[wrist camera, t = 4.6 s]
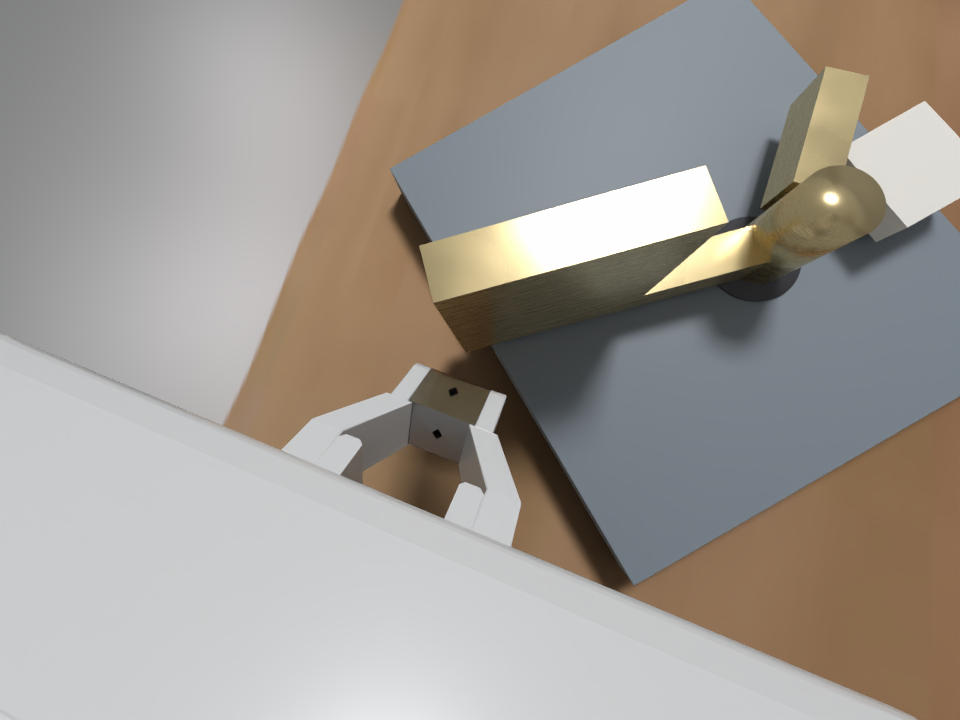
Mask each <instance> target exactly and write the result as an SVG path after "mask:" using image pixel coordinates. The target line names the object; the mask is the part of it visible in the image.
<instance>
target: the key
mask: <svg viewBox="0 0 960 720" xmlns="http://www.w3.org/2000/svg"><path fill="white" fill-rule="evenodd" d="M868 80H869V76H867V75H862V74H858V73H853V72H849V71H844V70H840V69H836V68H831V67H827V66H826V67H825V68H824V69H823V70H822V71H821V73H820V74H819V75H818V76H817V77H816V78H815V79H814V80H813V81H812V82H811V83H810V85H809V86H808V87H807V88H806V89H805V90H804V91H803V92H802V93H801V94H800V95H799V97H798V98H797V99H796V100H795V101H794V102H793V103H792V104H791V105H790V108H789V112H788V115H787V118H786V122H785V125H784V129H783V132H782V135H781V139H780V142H779V146H778V149H777V152H776V156H775V159H774V163H773V166H772V169H771V173H770V176H769V180H768V183H767V187H766V190H765V193H764V197H763V200H762V204H761V207H760V209H763V210H766V211H765V212H764V213H762V214H761V215H760V216H758V217H757V218H756V219H755V220H753V221H752V222H751V223H750V224H748V225H747V226H746V227H744V228H741V229H737V230H733V231H730V232H726V233H722V234H719V235H715V234H716V233H717V232H718V231H719V230H720V229H721V228H723V227H724V226H725V225H726V224H727V223H728V219H727V217H726V214H725V212H724V209H723V207H722V204H721V202H720V200H719V197H718V195H717V192H716V190H715V187H714V185H713V182H712V180H711V178H710V175H709V173H708V170H707V168H706V165H705V166H702V167H698V168H695V169H691V170H688V171H684V172H680V173H677V174H673V175H670V176H666V177H663V178H659V179H655V180H652V181H648V182H645V183H641V184H638V185H634V186H630V187H627V188H623V189H620V190H616V191H613V192H609V193H605V194H602V195H598V196H595V197H591V198H587V199H584V200H580V201H577V202H573V203H570V204H566V205H562V206H559V207H555V208H552V209H548V210H545V211H541V212H537V213H534V214H530V215H527V216H523V217H520V218H516V219H512V220H509V221H505V222H502V223H498V224H495V225H491V226H487V227H484V228H480V229H477V230H473V231H469V232H466V233H462V234H459V235H455V236H452V237H448V238H444V239H441V240H437V241H434V242H430V243H427V244H423V245H419V247H420V251H421V255H422V259H423V263H424V267H425V271H426V275H427V279H428V284H429V288H430V292H431V296H432V300H433V303H434V305H435V306H436V308H437V309H438V311H439V312H440V314H441V315H442V317H443V319H444V320H445V322H446V323H447V325H448V326H449V328H450V329H451V331H452V332H453V334H454V335H455V337H456V338H457V340H458V341H459V343H460V344H461V346H462V347H463V349H464V350H465V352H469V351H473V350H477V349H480V348H484V347H488V346H491V345H495V344H499V343H503V342H506V341H510V340H514V339H518V338H521V337H525V336H529V335H532V334H536V333H540V332H544V331H547V330H551V329H555V328H559V327H562V326H566V325H570V324H574V323H577V322H581V321H585V320H588V319H592V318H596V317H600V316H603V315H607V314H611V313H615V312H618V311H622V310H626V309H630V308H633V307H637V306H641V305H644V304H648V303H652V302H656V301H659V300H663V299H667V298H671V297H674V296H678V295H682V294H686V293H689V292H693V291H697V290H700V289H704V288H708V287H712V286H715V285H719V284H723V283H727V282H730V281H734V280H738V279H742V280H743V281H746V282H748V283H752V284H766V283H770V282H772V281H774V280H776V279H778V278H780V277H782V276H784V275H786V274H788V273H790V272H792V271H794V270H796V269H798V268H800V267H802V266H804V265H806V264H808V263H810V262H812V261H814V260H816V259H818V258H820V257H822V256H824V255H826V254H828V253H830V252H832V251H834V250H836V249H838V248H840V247H842V246H844V245H846V244H848V243H850V242H852V241H854V240H856V239H858V238H860V237H862V236H864V235H866V234H868V233H870V232H871V231H873V230H874V229H875V228H877V227H878V225H879V224H880V223H881V221H882V220H883V218H884V215H885V212H886V198H885V195H884V192H883V190H882V188H881V187H880V185H879V184H878V183H877V181H876V180H875V179H874V178H873V177H871V176H870V175H869V174H867V173H866V172H864V171H862V170H860V169H857V168H854V167H850V166H846V162H847V158H848V155H849V151H850V147H851V143H852V140H853V136H854V132H855V128H856V125H857V121H858V117H859V113H860V110H861V106H862V102H863V98H864V95H865V91H866V87H867V83H868ZM713 235H715V236H713Z"/></svg>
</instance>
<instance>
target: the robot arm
mask: <svg viewBox="0 0 960 720" xmlns="http://www.w3.org/2000/svg"><path fill="white" fill-rule="evenodd" d="M506 397H507V396H506V395H504V394H501V393H498V392H495V391H492V390H489V389H486V388H483V387H480V386H478V385H475V384H472V383H469V382H466V381H464V380H461V379H458V378H456V377H453V376H451V375H448V374H445V373H443V372H440V371H438V370H435V369H433V368H429V367H427V366H424V365H422V364H419V363H417V364H415V365H414V366H413V367H412V368H411V369H410V371H409V372H408V373H407V374H406V376H405V377H404V378H403V379H402V381H401V382H400V383H399V384H398V386H397V387H396V388H395V390H394V391H393V392H392V393H391V394H389V393H384V394H381V395H378V396H375V397H372V398H370V399H367V400H364V401H361V402H358V403H355V404H353V405H350V406H347V407H344V408H341V409H338V410H335V411H333V412H330V413H327V414H324V415H321V416H318V417H316V418H313V419H312V420H311V421H310V422H309V423H308V424H307V425H306V426H305V427H304V428H303V429H302V430H301V431H300V432H299V433H298V434H297V435H296V436H295V437H294V438H293V439H292V440H291V441H290V442H289V443H288V444H287V445H286V446H285V447H284V448H283V449H282V450H279V449H277V448H275V447H272V446H270V445H267V444H265V443H263V442H260V441H258V440H256V439H253V438H251V437H248V436H246V435H244V434H241V433H239V432H237V431H234V430H232V429H229V428H227V427H225V426H222V425H220V424H217V423H215V422H213V421H210V420H208V419H206V418H203V417H201V416H198V415H196V414H194V413H191V412H189V411H187V410H184V409H182V408H179V407H177V406H175V405H172V404H170V403H168V402H165V401H163V400H160V399H158V398H156V397H153V396H151V395H149V394H146V393H144V392H141V391H139V390H136V389H134V388H132V387H129V386H127V385H125V384H122V383H120V382H117V381H115V380H113V379H110V378H108V377H106V376H103V375H101V374H98V373H96V372H94V371H91V370H89V369H86V368H84V367H82V366H79V365H77V364H75V363H72V362H70V361H67V360H65V359H63V358H60V357H58V356H55V355H53V354H51V353H48V352H46V351H44V350H41V349H39V348H37V347H34V346H32V345H30V344H27V343H25V342H23V341H20V340H18V339H16V338H14V337H11V336H8V335H5V334H1V333H0V720H918V719H916V718H915V717H913V716H911V715H909V714H907V713H905V712H903V711H900V710H898V709H896V708H894V707H892V706H889V705H887V704H885V703H882V702H880V701H877V700H875V699H873V698H870V697H868V696H865V695H863V694H861V693H858V692H856V691H853V690H851V689H849V688H846V687H844V686H842V685H839V684H837V683H834V682H832V681H830V680H827V679H825V678H822V677H820V676H818V675H815V674H813V673H810V672H808V671H806V670H803V669H801V668H799V667H796V666H794V665H791V664H789V663H787V662H784V661H782V660H779V659H777V658H775V657H772V656H770V655H768V654H765V653H763V652H760V651H758V650H756V649H753V648H751V647H748V646H746V645H744V644H741V643H739V642H737V641H734V640H732V639H729V638H727V637H725V636H722V635H720V634H717V633H715V632H713V631H710V630H708V629H706V628H703V627H701V626H698V625H696V624H694V623H691V622H689V621H687V620H684V619H682V618H679V617H677V616H675V615H672V614H670V613H668V612H665V611H663V610H660V609H658V608H656V607H653V606H651V605H648V604H646V603H644V602H641V601H639V600H637V599H634V598H632V597H629V596H627V595H625V594H622V593H620V592H618V591H615V590H613V589H610V588H608V587H606V586H603V585H601V584H599V583H596V582H594V581H591V580H589V579H587V578H584V577H582V576H579V575H577V574H575V573H572V572H570V571H568V570H565V569H563V568H560V567H558V566H556V565H553V564H551V563H549V562H546V561H544V560H541V559H539V558H537V557H534V556H532V555H529V554H527V553H525V552H522V551H520V550H518V549H515V548H513V547H511V544H512V540H513V536H514V531H515V527H516V523H517V519H518V515H519V510H520V506H521V501H520V499H519V496H518V493H517V490H516V487H515V484H514V481H513V478H512V475H511V473H510V470H509V467H508V464H507V461H506V458H505V455H504V452H503V449H502V447H501V444H500V441H499V438H498V435H496V434H494V432H495V429H496V426H497V423H498V421H499V418H500V415H501V412H502V409H503V406H504V403H505V400H506ZM407 444H410V445H413V446H415V447H418V448H421V449H423V450H426V451H429V452H432V453H434V454H437V455H439V456H441V457H444V458H446V459H448V460H451V461H453V462H455V463H458V464H459V471H460V478H461V484H459V486H458V488H457V491H456V493H455V495H454V498H453V500H452V502H451V504H450V507H449V509H448V511H447V514H446V516H445V518H441V517H439V516H436V515H434V514H432V513H429V512H427V511H424V510H422V509H420V508H417V507H415V506H413V505H410V504H408V503H405V502H403V501H401V500H398V499H396V498H393V497H391V496H389V495H386V494H384V493H382V492H379V491H377V490H374V489H372V488H370V487H367V486H365V485H363V481H362V472H363V471H364V470H366V469H368V468H370V467H371V466H373V465H375V464H376V463H378V462H380V461H381V460H383V459H385V458H387V457H388V456H390V455H392V454H393V453H395V452H397V451H399V450H400V449H402V448H404V447H405V446H407Z"/></svg>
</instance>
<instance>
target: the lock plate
mask: <svg viewBox="0 0 960 720" xmlns="http://www.w3.org/2000/svg"><path fill="white" fill-rule="evenodd" d="M817 76H818V75H817V74H816V73H815V72H814V71H813V70H812V69H811V67H810V66H809V65H808V64H807V63H806V62H805V61H804V60H803V59H802V57H801V56H800V55H799V54H798V53H797V52H796V51H795V50H794V49H793V47H792V46H791V45H790V44H789V43H788V42H787V41H786V40H785V39H784V38H783V36H782V35H781V34H780V33H779V32H778V31H777V30H776V29H775V28H774V26H773V25H772V24H771V23H770V22H769V21H768V20H767V19H766V18H765V16H764V15H763V14H762V13H761V12H760V11H759V10H758V9H757V8H756V6H755V5H754V4H753V3H752V2H751V1H750V0H688V1H687V2H685V3H683V4H681V5H679V6H678V7H676V8H674V9H672V10H671V11H669V12H667V13H665V14H663V15H662V16H660V17H658V18H656V19H655V20H653V21H651V22H649V23H647V24H646V25H644V26H642V27H640V28H639V29H637V30H635V31H633V32H632V33H630V34H628V35H626V36H624V37H623V38H621V39H619V40H617V41H616V42H614V43H612V44H610V45H608V46H607V47H605V48H603V49H601V50H600V51H598V52H596V53H594V54H592V55H591V56H589V57H587V58H585V59H584V60H582V61H580V62H578V63H576V64H575V65H573V66H571V67H569V68H568V69H566V70H564V71H562V72H560V73H559V74H557V75H555V76H553V77H552V78H550V79H548V80H546V81H544V82H543V83H541V84H539V85H537V86H536V87H534V88H532V89H530V90H528V91H527V92H525V93H523V94H521V95H520V96H518V97H516V98H514V99H513V100H511V101H509V102H507V103H505V104H504V105H502V106H500V107H498V108H497V109H495V110H493V111H491V112H489V113H488V114H486V115H484V116H482V117H481V118H479V119H477V120H475V121H473V122H472V123H470V124H468V125H466V126H465V127H463V128H461V129H459V130H457V131H456V132H454V133H452V134H450V135H449V136H447V137H445V138H443V139H441V140H440V141H438V142H436V143H434V144H433V145H431V146H429V147H427V148H425V149H424V150H422V151H420V152H418V153H417V154H415V155H413V156H411V157H410V158H408V159H406V160H404V161H402V162H401V163H399V164H397V165H395V166H394V167H392V168H390V170H391V172H392V174H393V176H394V178H395V181H396V183H397V185H398V187H399V189H400V191H401V193H402V195H403V197H404V198H405V200H406V202H407V203H408V205H409V207H410V209H411V210H412V212H413V214H414V215H415V217H416V219H417V221H418V222H419V224H420V226H421V227H422V229H423V231H424V232H425V234H426V236H427V238H428V239H429V241H430V242H434V241H437V240H441V239H444V238H448V237H452V236H455V235H459V234H462V233H466V232H469V231H473V230H477V229H480V228H484V227H487V226H491V225H495V224H498V223H502V222H505V221H509V220H512V219H516V218H520V217H523V216H527V215H530V214H534V213H537V212H541V211H545V210H548V209H552V208H555V207H559V206H562V205H566V204H570V203H573V202H577V201H580V200H584V199H587V198H591V197H595V196H598V195H602V194H605V193H609V192H613V191H616V190H620V189H623V188H627V187H630V186H634V185H638V184H641V183H645V182H648V181H652V180H655V179H659V178H663V177H666V176H670V175H673V174H677V173H680V172H684V171H688V170H691V169H695V168H698V167H702V166H705V165H706V168H707V170H708V173H709V175H710V178H711V180H712V182H713V185H714V187H715V190H716V192H717V195H718V197H719V200H720V202H721V204H722V207H723V209H724V212H725V214H726V217H727V219H728V223H727V224H726V225H725V226H724V227H723V228H721V229H720V230H719V231H718V232H717V233H716V234H715V235H719V234H722V233H726V232H730V231H733V230H737V229H741V228H744V227H746V226H747V225H748V224H750V223H751V222H752V221H753V220H755V219H756V218H757V217H758V216H760V215H761V214H762V213H764V212H765V211H766V210H763V209H760V207H761V204H762V200H763V197H764V193H765V190H766V187H767V183H768V180H769V176H770V173H771V169H772V166H773V163H774V159H775V156H776V152H777V149H778V146H779V142H780V139H781V135H782V132H783V129H784V125H785V122H786V118H787V115H788V112H789V108H790V105H791V104H792V103H793V102H794V101H795V100H796V99H797V98H798V97H799V95H800V94H801V93H802V92H803V91H804V90H805V89H806V88H807V87H808V86H809V85H810V83H811V82H812V81H813V80H814V79H815V78H816V77H817ZM867 133H869V132H868V131H867V130H866V129H865V127H864V126H863V125H862V124H861V123H860V122H859V121H857V125H856V128H855V132H854V136H853V140H852V142H853V141H855V140H856V139H858V138H860V137H862V136H864V135H865V134H867ZM715 235H713V236H715ZM491 347H492V349H493V351H494V352H495V354H496V356H497V357H498V359H499V361H500V363H501V364H502V366H503V368H504V369H505V371H506V373H507V375H508V376H509V378H510V380H511V381H512V383H513V385H514V387H515V388H516V390H517V392H518V393H519V395H520V397H521V399H522V400H523V402H524V404H525V405H526V407H527V409H528V411H529V412H530V414H531V416H532V417H533V419H534V421H535V423H536V424H537V426H538V428H539V429H540V431H541V433H542V435H543V436H544V438H545V440H546V441H547V443H548V445H549V446H550V448H551V450H552V452H553V453H554V455H555V457H556V458H557V460H558V462H559V464H560V465H561V467H562V469H563V470H564V472H565V474H566V476H567V477H568V479H569V481H570V482H571V484H572V486H573V488H574V489H575V491H576V493H577V494H578V496H579V498H580V500H581V501H582V503H583V505H584V506H585V508H586V510H587V512H588V513H589V515H590V517H591V518H592V520H593V522H594V524H595V525H596V527H597V529H598V530H599V532H600V534H601V536H602V537H603V539H604V541H605V542H606V544H607V546H608V548H609V549H610V551H611V553H612V554H613V556H614V558H615V559H616V561H617V563H618V565H619V566H620V567H621V569H622V570H623V571H624V573H625V574H626V575H627V577H628V578H629V580H630V581H631V582H632V584H633V585H636V584H638V583H640V582H641V581H643V580H645V579H646V578H648V577H650V576H652V575H653V574H655V573H657V572H658V571H660V570H662V569H664V568H665V567H667V566H669V565H670V564H672V563H674V562H676V561H677V560H679V559H681V558H683V557H684V556H686V555H688V554H689V553H691V552H693V551H695V550H696V549H698V548H700V547H701V546H703V545H705V544H707V543H708V542H710V541H712V540H713V539H715V538H717V537H719V536H720V535H722V534H724V533H725V532H727V531H729V530H731V529H732V528H734V527H736V526H738V525H739V524H741V523H743V522H744V521H746V520H748V519H750V518H751V517H753V516H755V515H756V514H758V513H760V512H762V511H763V510H765V509H767V508H768V507H770V506H772V505H774V504H775V503H777V502H779V501H780V500H782V499H784V498H786V497H787V496H789V495H791V494H793V493H794V492H796V491H798V490H799V489H801V488H803V487H805V486H806V485H808V484H810V483H811V482H813V481H815V480H817V479H818V478H820V477H822V476H823V475H825V474H827V473H829V472H830V471H832V470H834V469H835V468H837V467H839V466H841V465H842V464H844V463H846V462H847V461H849V460H851V459H853V458H854V457H856V456H858V455H860V454H861V453H863V452H865V451H866V450H868V449H870V448H872V447H873V446H875V445H877V444H878V443H880V442H882V441H884V440H885V439H887V438H889V437H890V436H892V435H894V434H896V433H897V432H899V431H901V430H902V429H904V428H906V427H908V426H909V425H911V424H913V423H915V422H916V421H918V420H920V419H921V418H923V417H925V416H927V415H928V414H930V413H932V412H933V411H935V410H937V409H939V408H940V407H942V406H944V405H945V404H947V403H949V402H951V401H952V400H954V399H956V398H957V397H959V396H960V233H959V232H958V231H957V230H956V228H955V227H954V226H953V225H952V224H951V223H950V222H949V221H948V220H947V218H946V217H945V216H944V215H943V214H942V213H941V212H940V211H939V210H938V211H936V212H934V213H932V214H931V215H929V216H927V217H925V218H923V219H922V220H920V221H918V222H916V223H915V224H913V225H911V226H909V227H908V228H905V229H903V230H901V231H899V232H897V233H895V234H893V235H890V236H888V237H886V238H884V239H882V240H880V241H878V242H875V241H874V239H873V238H872V237H871V236H870V235H869V233H868V234H866V235H864V236H862V237H860V238H858V239H856V240H854V241H852V242H850V243H848V244H846V245H844V246H842V247H840V248H838V249H836V250H834V251H832V252H830V253H828V254H826V255H824V256H822V257H820V258H818V259H816V260H814V261H812V262H810V263H808V264H806V265H804V266H802V267H800V268H798V269H796V270H794V271H792V272H790V273H788V274H786V275H784V276H782V277H780V278H778V279H776V280H774V281H772V282H770V283H766V284H752V283H748V282H746V281H743V280H742V279H738V280H734V281H730V282H727V283H723V284H719V285H715V286H712V287H708V288H704V289H700V290H697V291H693V292H689V293H686V294H682V295H678V296H674V297H671V298H667V299H663V300H659V301H656V302H652V303H648V304H644V305H641V306H637V307H633V308H630V309H626V310H622V311H618V312H615V313H611V314H607V315H603V316H600V317H596V318H592V319H588V320H585V321H581V322H577V323H574V324H570V325H566V326H562V327H559V328H555V329H551V330H547V331H544V332H540V333H536V334H532V335H529V336H525V337H521V338H518V339H514V340H510V341H506V342H503V343H499V344H495V345H491Z"/></svg>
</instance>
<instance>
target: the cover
mask: <svg viewBox="0 0 960 720" xmlns="http://www.w3.org/2000/svg"><path fill="white" fill-rule="evenodd" d="M846 166H850V167H854V168H857V169H860V170H862V171H864V172H866V173H867V174H869V175H870V176H871V177H873V178H874V179H875V180H876V181H877V183H878V184H879V185H880V187H881V188H882V190H883V192H884V195H885V198H886V212H885V215H884V218H883V220H882V221H881V223H880V224H879V225H878V227H877V228H875V229H874V230H873V231H871V232H870V233H869V235H870V236H871V237H872V238H873V239H874V241H875V242H878V241H880V240H882V239H884V238H886V237H888V236H890V235H893V234H895V233H897V232H899V231H901V230H903V229H905V228H908V227H909V226H911V225H913V224H915V223H916V222H918V221H920V220H922V219H923V218H925V217H927V216H929V215H931V214H932V213H934V212H936V211H938V210H939V209H941V208H943V207H945V206H946V205H948V204H950V203H952V202H953V201H955V200H957V199H959V198H960V138H959V137H958V136H957V135H956V134H955V132H954V131H953V130H952V129H951V128H950V127H949V126H948V125H947V124H946V123H945V122H944V121H943V120H942V119H941V118H940V117H939V115H938V114H937V113H936V112H935V111H934V110H933V109H932V108H931V107H930V106H929V105H928V104H927V103H926V102H925V101H924V102H922V103H920V104H918V105H917V106H915V107H913V108H911V109H910V110H908V111H906V112H904V113H903V114H901V115H899V116H897V117H895V118H894V119H892V120H890V121H888V122H887V123H885V124H883V125H881V126H879V127H878V128H876V129H874V130H872V131H871V132H869V133H867V134H865V135H864V136H862V137H860V138H858V139H856V140H855V141H853V142H852V143H851V147H850V151H849V155H848V158H847V162H846Z"/></svg>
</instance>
